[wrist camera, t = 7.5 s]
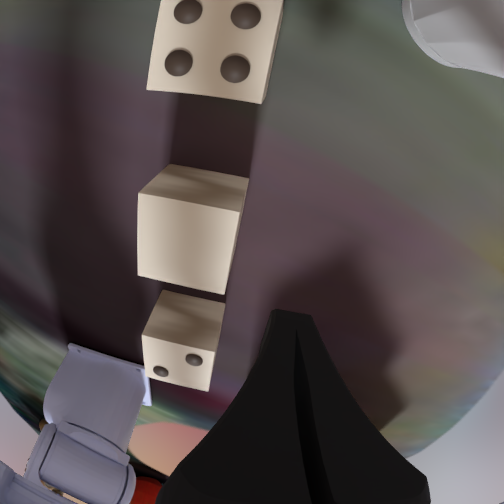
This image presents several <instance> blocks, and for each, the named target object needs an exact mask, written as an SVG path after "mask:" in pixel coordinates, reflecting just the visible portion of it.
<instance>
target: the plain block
mask: <svg viewBox="0 0 504 504" xmlns="http://www.w3.org/2000/svg"><path fill="white" fill-rule="evenodd" d="M248 182H249V178H244V177H240V176H235V175H229V174H224V173H219V172H214V171H208V170H203V169H197V168H192V167H186V166H180V165H174V164H169V165H168V166H167V167H166V168H164V169H163V170H162V171H161V172H160V173H159V174H158V175H157V176H156V177H155V178H154V179H152V180H151V181H150V182H149V183H148V184H147V185H146V186H145V187H144V188H143V189H142V190H141V191H140V192H139V193H138V228H137V255H138V275H139V276H143V277H147V278H151V279H156V280H160V281H164V282H168V283H173V284H177V285H182V286H186V287H191V288H195V289H200V290H204V291H209V292H214V293H218V294H223V295H224V294H225V290H226V285H227V281H228V277H229V273H230V269H231V264H232V260H233V256H234V252H235V248H236V243H237V238H238V232H239V227H240V222H241V217H242V212H243V207H244V202H245V197H246V192H247V187H248Z"/></svg>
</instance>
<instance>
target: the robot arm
mask: <svg viewBox="0 0 504 504" xmlns="http://www.w3.org/2000/svg"><path fill="white" fill-rule="evenodd" d="M68 348H69V351H68V353H67V355H66V357H65V358H64V360H63V362H62V364H61V365H60V367H59V369H58V371H57V372H56V374H55V376H54V378H53V380H52V382H51V383H50V385H49V387H48V389H47V392H46V395H45V399H44V404H43V411H44V416H45V419H46V421H47V422H48V423H49V424H45V425H44V427H43V429H42V431H41V433H40V435H39V437H38V440H37V442H36V444H35V446H34V448H33V451H32V453H31V455H30V458H29V460H28V463H27V466H26V467H27V468H26V471H25V473H24V476H23V477H22V476H20V475H18V474H17V473H15V472H14V471H13V470H12V469H11V468H10V467H9V466H7V465H6V464H5V463H3V462H2V461H0V504H77V503H75V502H73V501H71V500H69V499H67V498H65V497H63V496H61V495H59V494H57V493H55V492H53V491H51V490H50V489H48V488H46V487H45V486H43V484H42V483H41V481H40V480H42V481H44V482H46V483H47V484H49V485H51V486H53V487H55V488H57V489H58V490H60V491H62V492H64V493H66V494H68V495H71V496H72V497H74V498H77V499H79V500H81V501H83V502H85V503H87V504H129V503H130V501H131V499H132V497H133V494H134V490H135V486H136V475H135V472H134V469H133V467H132V465H130V464H128V462H129V459H130V456H129V455H127V454H126V451H127V447H128V444H129V441H130V438H131V435H132V432H133V429H134V426H135V423H136V420H137V417H138V414H139V411H140V408H141V405H142V404H143V405H146V406H151V405H152V397H151V388H150V379H149V377H146V375H145V366H142V365H139V364H135V363H132V362H128V361H125V360H121V359H118V358H115V357H112V356H109V355H105V354H102V353H99V352H96V351H93V350H90V349H87V348H84V347H81V346H79V345H76V344H73V343H69V345H68ZM430 503H431V499H430V492H429V486H428V482H427V477H426V476H425V475H424V474H423V473H421V472H420V471H419V470H418V469H416V468H415V467H414V466H413V465H412V464H411V463H409V462H408V461H407V460H406V459H405V458H404V457H403V456H402V455H401V454H400V453H399V452H398V451H397V450H396V449H395V448H394V447H393V446H392V445H391V444H390V443H389V442H388V441H387V440H386V439H385V438H384V437H383V436H382V434H381V433H380V432H379V431H378V430H377V429H376V427H375V426H374V425H373V424H372V423H371V422H370V420H369V419H368V418H367V416H366V415H365V414H364V412H363V411H362V410H361V408H360V407H359V405H358V404H357V402H356V401H355V399H354V398H353V396H352V395H351V393H350V392H349V390H348V388H347V387H346V385H345V383H344V382H343V380H342V378H341V376H340V375H339V373H338V371H337V369H336V367H335V365H334V363H333V361H332V360H331V358H330V356H329V354H328V352H327V350H326V348H325V345H324V343H323V341H322V339H321V337H320V335H319V332H318V330H317V328H316V325H315V323H314V321H313V318H312V317H311V315H307V314H301V313H296V312H290V311H284V310H279V309H274V310H272V311H271V314H270V317H269V320H268V323H267V327H266V330H265V333H264V336H263V339H262V342H261V346H260V352H259V357H258V359H257V361H256V363H255V365H254V366H253V368H252V370H251V372H250V374H249V376H248V378H247V379H246V381H245V383H244V384H243V386H242V388H241V389H240V391H239V392H238V394H237V396H236V397H235V398H234V400H233V401H232V403H231V404H230V406H229V407H228V408H227V410H226V411H225V413H224V414H223V415H222V417H221V418H220V419H219V420H218V422H217V423H216V424H215V425H214V426H213V428H212V429H211V430H210V431H209V432H208V434H207V435H206V436H205V437H204V438H203V439H202V440H201V442H200V443H199V444H198V445H197V446H196V447H195V448H194V449H193V450H192V451H191V452H190V453H189V454H188V455H187V456H186V457H185V458H184V459H183V460H182V461H181V462H180V463H179V464H178V466H177V467H176V468H175V470H174V471H173V473H172V474H171V475H170V477H169V478H168V479H167V481H166V482H165V483H164V485H163V486H162V488H161V489H160V491H159V493H158V495H157V497H156V501H155V504H430ZM500 504H504V502H502V503H500Z"/></svg>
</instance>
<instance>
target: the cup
mask: <svg viewBox="0 0 504 504" xmlns="http://www.w3.org/2000/svg"><path fill="white" fill-rule="evenodd" d="M402 13H403V18H404V21H405V24H406V27H407V29H408V31H409V33H410V35H411V36H412V38H413V39H414V41H415V42H416V44H417V45H418V46H419V47H420V48H421V49H422V50H423V51H424V52H425V53H426V54H427V55H428V56H429V57H431V58H432V59H434V60H435V61H437V62H439V63H441V64H443V65H446V66H449V67H454V68H466V69H470V70H475V71H479V72H483V73H487V74H491V75H495V76H498V77H502V78H504V0H402Z"/></svg>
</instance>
